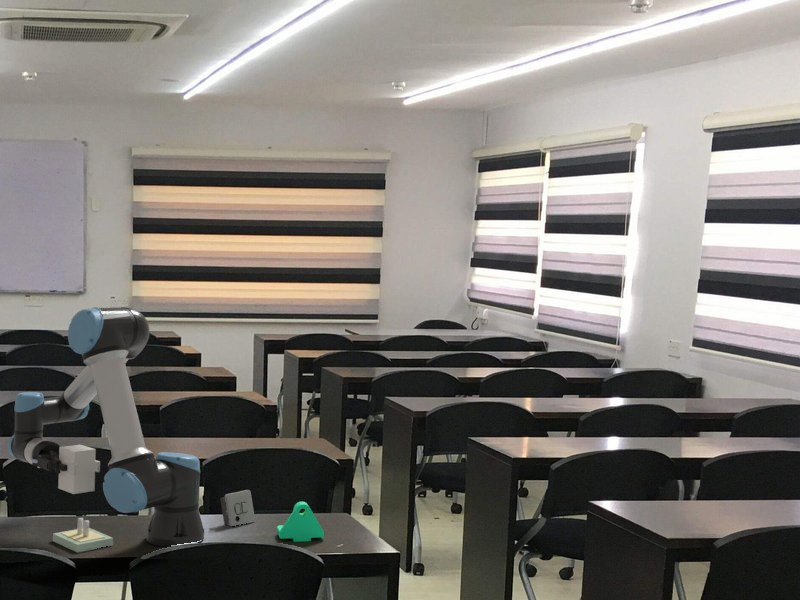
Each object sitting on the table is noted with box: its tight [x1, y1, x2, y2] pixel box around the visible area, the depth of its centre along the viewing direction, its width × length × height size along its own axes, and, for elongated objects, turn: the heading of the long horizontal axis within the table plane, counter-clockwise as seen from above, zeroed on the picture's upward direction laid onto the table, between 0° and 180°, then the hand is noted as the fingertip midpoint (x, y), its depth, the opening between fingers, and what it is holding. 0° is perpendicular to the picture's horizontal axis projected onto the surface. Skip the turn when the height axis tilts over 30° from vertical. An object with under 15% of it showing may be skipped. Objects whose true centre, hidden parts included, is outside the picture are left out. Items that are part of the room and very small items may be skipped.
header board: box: [52, 517, 114, 553], centre depth 261 cm, size 13×10×6 cm
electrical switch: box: [220, 489, 256, 527], centre depth 286 cm, size 9×5×9 cm, turn 141°
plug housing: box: [57, 444, 97, 495], centre depth 263 cm, size 8×6×11 cm
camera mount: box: [276, 501, 325, 543], centre depth 275 cm, size 12×8×10 cm, turn 104°
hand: (86, 468), depth 259 cm, fingers closed on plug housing, 6 cm apart
